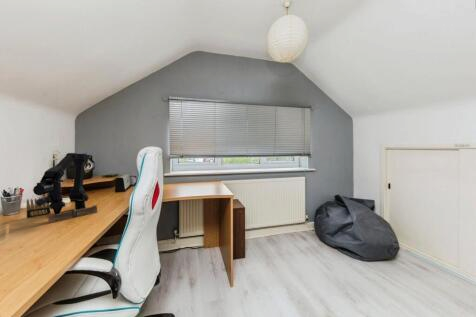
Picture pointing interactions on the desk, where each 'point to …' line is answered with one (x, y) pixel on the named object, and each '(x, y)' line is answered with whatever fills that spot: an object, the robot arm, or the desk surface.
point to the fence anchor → (84, 211)
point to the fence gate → (60, 216)
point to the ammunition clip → (37, 209)
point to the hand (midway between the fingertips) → (56, 216)
